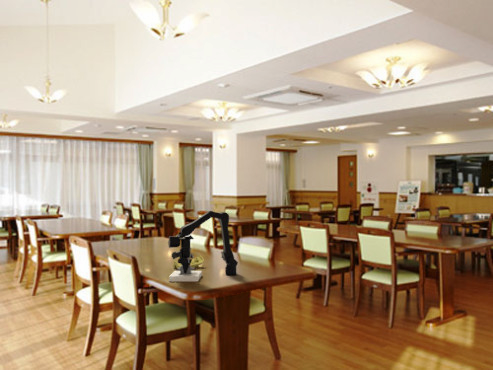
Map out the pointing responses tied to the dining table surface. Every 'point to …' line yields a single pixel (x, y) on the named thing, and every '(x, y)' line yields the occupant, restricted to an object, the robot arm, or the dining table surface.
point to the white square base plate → (185, 276)
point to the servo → (187, 270)
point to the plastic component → (194, 262)
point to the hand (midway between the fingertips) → (185, 272)
